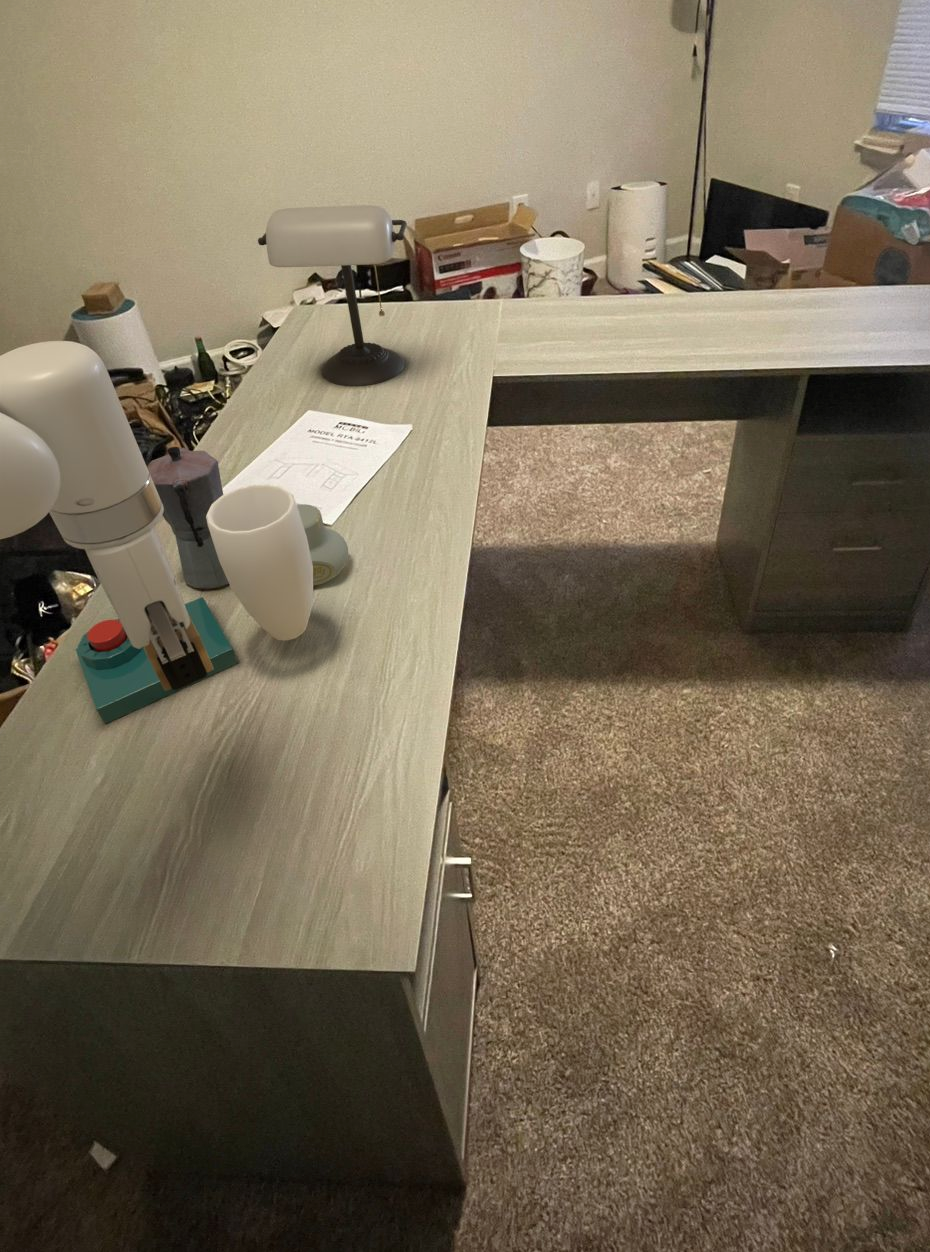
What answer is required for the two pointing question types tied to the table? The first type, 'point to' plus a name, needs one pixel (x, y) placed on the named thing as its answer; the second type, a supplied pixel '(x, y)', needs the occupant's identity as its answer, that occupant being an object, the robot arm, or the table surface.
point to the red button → (107, 635)
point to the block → (190, 633)
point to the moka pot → (191, 511)
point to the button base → (145, 667)
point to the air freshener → (323, 545)
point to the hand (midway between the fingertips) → (181, 663)
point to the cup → (265, 556)
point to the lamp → (342, 243)
